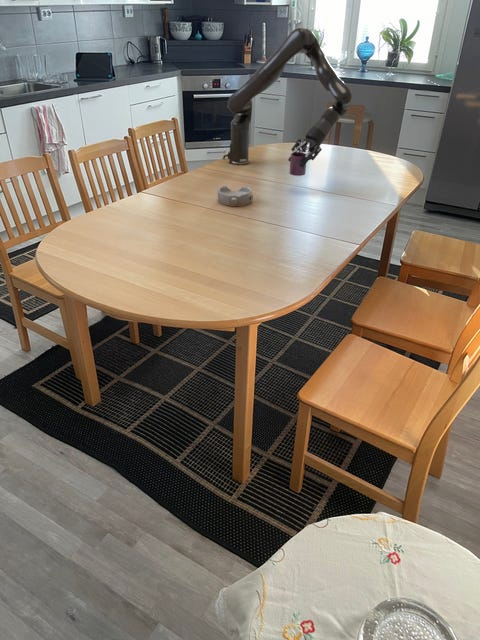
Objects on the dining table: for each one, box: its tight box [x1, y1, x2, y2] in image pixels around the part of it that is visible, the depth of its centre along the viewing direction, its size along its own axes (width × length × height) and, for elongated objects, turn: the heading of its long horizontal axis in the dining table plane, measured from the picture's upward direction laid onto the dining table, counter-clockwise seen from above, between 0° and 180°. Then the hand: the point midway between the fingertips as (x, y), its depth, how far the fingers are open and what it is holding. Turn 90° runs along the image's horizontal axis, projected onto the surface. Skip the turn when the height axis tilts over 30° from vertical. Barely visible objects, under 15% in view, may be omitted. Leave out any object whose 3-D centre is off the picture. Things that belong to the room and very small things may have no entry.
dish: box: [217, 185, 254, 207], centre depth 203 cm, size 14×14×5 cm
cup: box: [289, 152, 307, 177], centre depth 210 cm, size 7×7×8 cm
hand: (295, 163), depth 209 cm, fingers closed on cup, 7 cm apart
